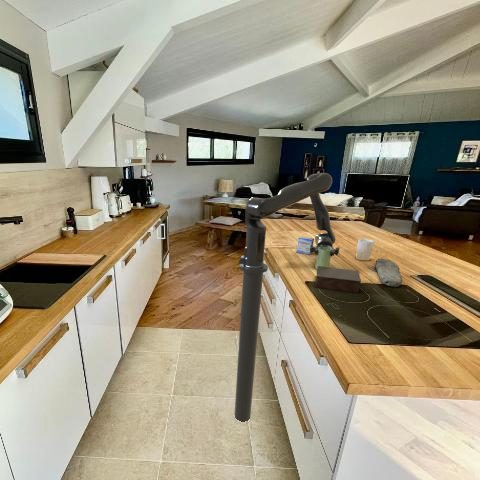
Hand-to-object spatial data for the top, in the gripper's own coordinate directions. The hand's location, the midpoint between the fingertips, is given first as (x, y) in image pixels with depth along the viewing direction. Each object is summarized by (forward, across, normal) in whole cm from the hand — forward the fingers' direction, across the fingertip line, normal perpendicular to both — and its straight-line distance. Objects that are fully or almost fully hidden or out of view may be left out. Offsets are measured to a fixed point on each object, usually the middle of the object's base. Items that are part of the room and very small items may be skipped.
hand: (324, 253), depth 147 cm
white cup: (-28, +20, +8) cm, 36 cm away
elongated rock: (-3, +28, +8) cm, 29 cm away
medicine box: (-29, -10, +8) cm, 32 cm away
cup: (-2, 0, +8) cm, 8 cm away
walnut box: (+19, +6, +8) cm, 21 cm away
